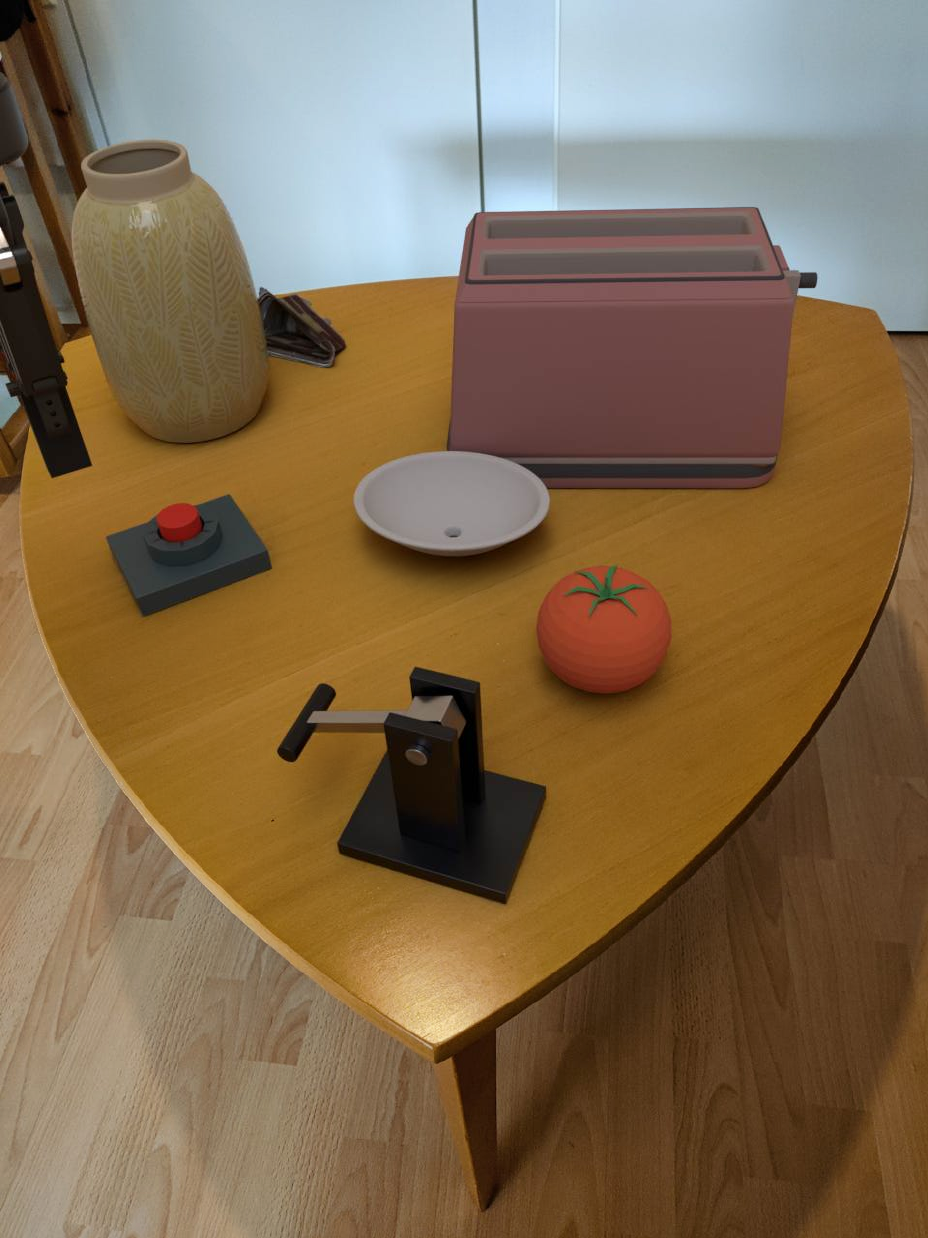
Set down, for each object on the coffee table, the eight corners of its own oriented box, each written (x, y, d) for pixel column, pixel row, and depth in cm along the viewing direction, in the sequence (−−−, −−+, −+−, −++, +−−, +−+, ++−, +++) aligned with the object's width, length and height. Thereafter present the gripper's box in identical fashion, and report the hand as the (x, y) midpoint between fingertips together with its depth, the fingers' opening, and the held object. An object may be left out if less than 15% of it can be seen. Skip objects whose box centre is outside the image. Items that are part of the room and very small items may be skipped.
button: (168, 548, 87) (163, 532, 86) (156, 526, 89) (151, 511, 88) (207, 534, 88) (203, 518, 87) (194, 513, 91) (190, 498, 89)
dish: (338, 580, 88) (331, 536, 85) (384, 485, 99) (378, 442, 95) (534, 603, 85) (534, 559, 82) (560, 503, 95) (561, 459, 92)
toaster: (800, 491, 95) (847, 286, 81) (445, 490, 97) (431, 292, 83) (768, 386, 109) (804, 196, 95) (458, 388, 111) (448, 203, 97)
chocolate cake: (371, 346, 120) (314, 260, 119) (339, 357, 114) (279, 267, 113) (322, 389, 126) (267, 307, 124) (289, 401, 120) (231, 315, 119)
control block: (143, 617, 86) (130, 582, 83) (112, 554, 93) (99, 520, 90) (272, 568, 90) (264, 533, 87) (234, 511, 97) (225, 477, 94)
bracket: (338, 854, 68) (310, 732, 59) (391, 755, 74) (372, 631, 65) (506, 905, 64) (502, 784, 56) (546, 797, 70) (549, 672, 62)
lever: (286, 767, 66) (269, 742, 64) (326, 702, 70) (311, 678, 68) (443, 772, 60) (428, 744, 58) (477, 700, 64) (463, 673, 62)
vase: (306, 415, 109) (260, 158, 90) (158, 474, 102) (76, 208, 83) (236, 355, 119) (181, 113, 100) (98, 405, 112) (12, 155, 94)
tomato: (681, 646, 81) (695, 551, 74) (643, 736, 74) (655, 641, 67) (562, 614, 84) (565, 520, 77) (515, 697, 77) (514, 603, 71)
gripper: (33, 95, 48) (153, 496, 64) (-19, 41, 56) (98, 408, 72) (-134, 125, 45) (35, 535, 61) (-163, 64, 54) (-8, 439, 70)
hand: (69, 466), depth 67 cm, fingers closed
